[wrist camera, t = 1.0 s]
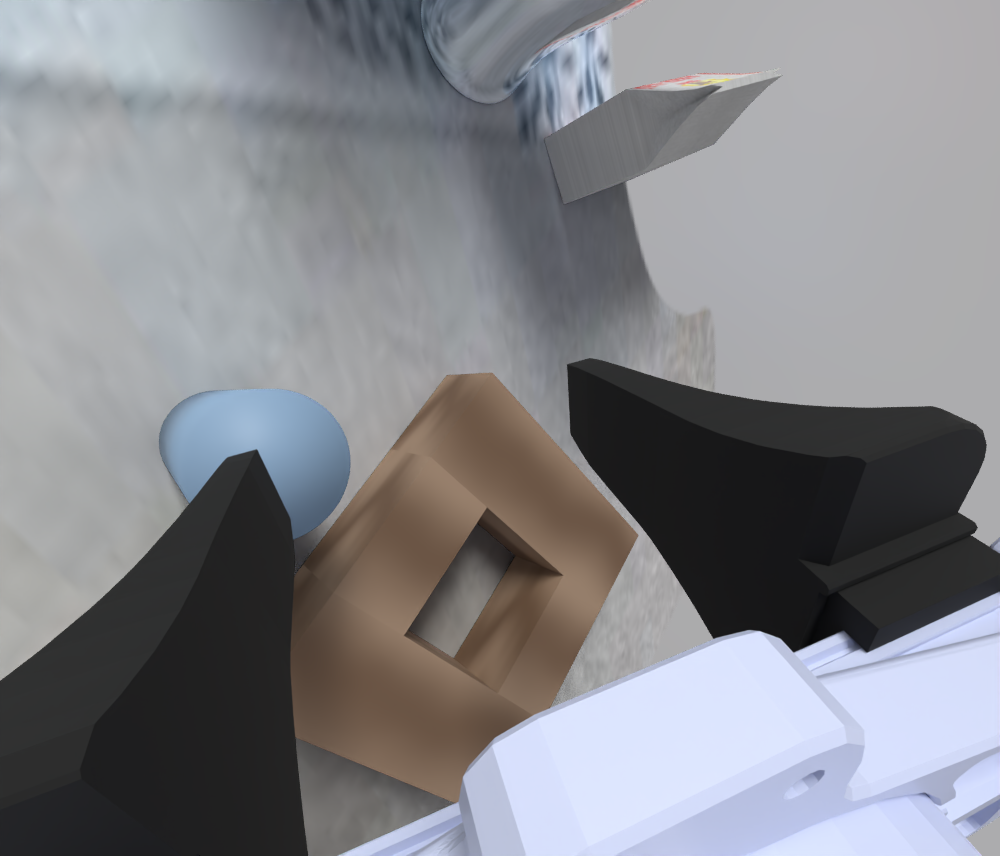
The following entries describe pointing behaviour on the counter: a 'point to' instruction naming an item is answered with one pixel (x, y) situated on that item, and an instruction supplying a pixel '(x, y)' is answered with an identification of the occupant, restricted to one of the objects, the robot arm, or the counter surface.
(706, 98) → the grey angular block
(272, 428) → the peg
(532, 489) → the socket board
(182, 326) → the counter surface
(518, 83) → the silver metal tumbler
